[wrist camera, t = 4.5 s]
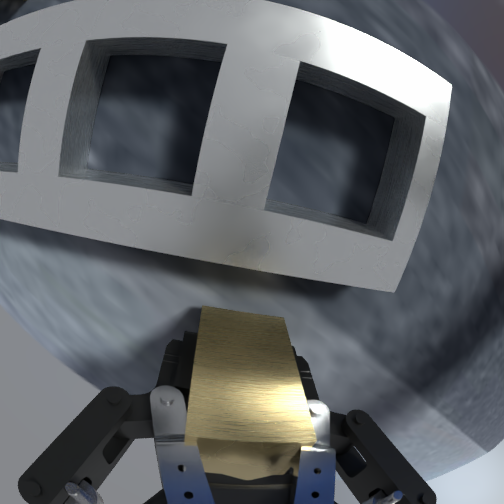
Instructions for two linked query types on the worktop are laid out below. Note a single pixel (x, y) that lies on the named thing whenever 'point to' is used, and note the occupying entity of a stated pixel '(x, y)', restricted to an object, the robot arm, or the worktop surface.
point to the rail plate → (220, 136)
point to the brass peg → (246, 395)
